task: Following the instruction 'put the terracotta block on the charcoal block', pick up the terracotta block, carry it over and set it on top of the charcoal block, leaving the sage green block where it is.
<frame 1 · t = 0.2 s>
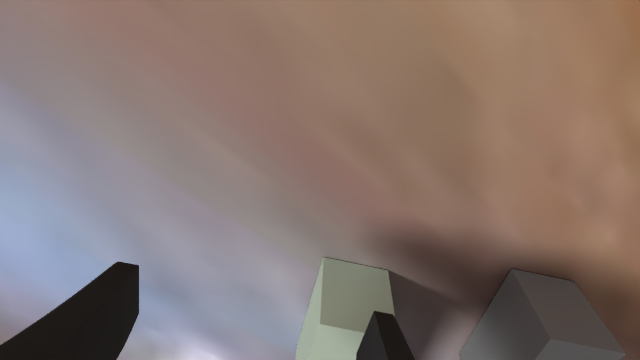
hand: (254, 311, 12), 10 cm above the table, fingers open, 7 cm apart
charcoal block: (512, 320, 26), on the table
sage block: (339, 309, 26), on the table
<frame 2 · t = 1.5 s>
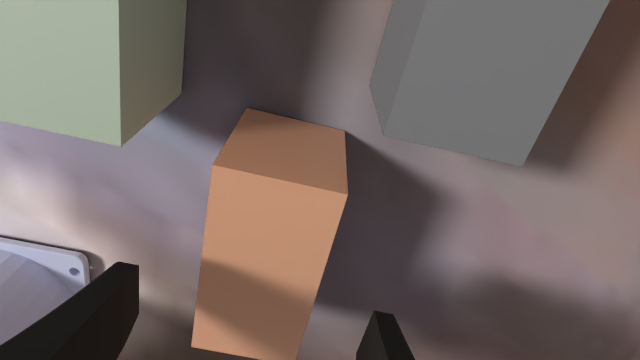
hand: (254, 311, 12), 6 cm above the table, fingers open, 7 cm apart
terracotta block: (278, 201, 18), on the table
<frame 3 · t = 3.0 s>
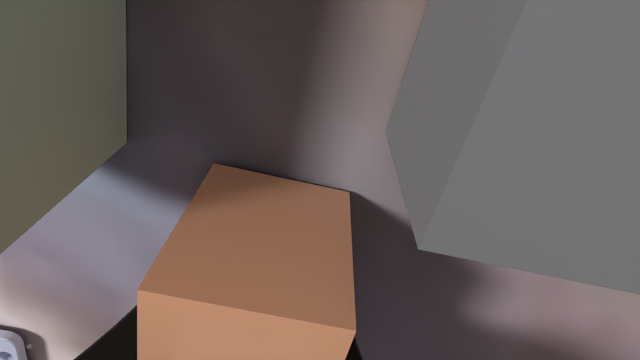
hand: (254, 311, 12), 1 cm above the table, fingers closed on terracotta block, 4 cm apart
terracotta block: (261, 278, 14), on the table, touching gripper
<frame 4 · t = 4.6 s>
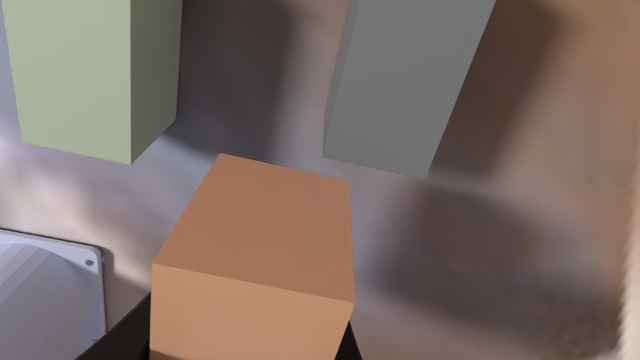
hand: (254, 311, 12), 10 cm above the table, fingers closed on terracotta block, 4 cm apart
charcoal block: (389, 36, 17), on the table
terracotta block: (265, 265, 14), point 7 cm above the table, touching gripper
sage block: (135, 25, 18), on the table
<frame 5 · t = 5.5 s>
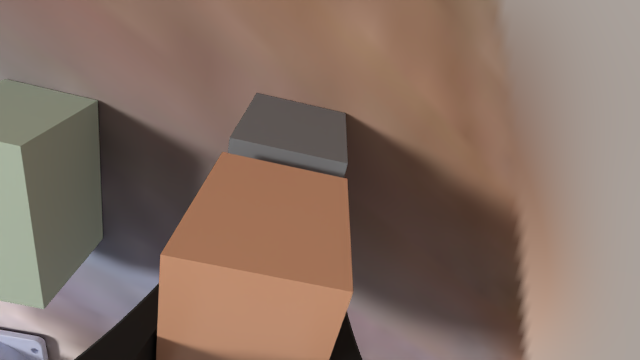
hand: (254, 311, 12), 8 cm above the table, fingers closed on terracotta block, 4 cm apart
charcoal block: (285, 180, 20), on the table
terracotta block: (265, 261, 14), point 6 cm above the table, touching gripper
sage block: (59, 167, 20), on the table
when the fingers open (8 cm above the table, at t = 6.2 s): terracotta block stays where it is, resting on charcoal block.
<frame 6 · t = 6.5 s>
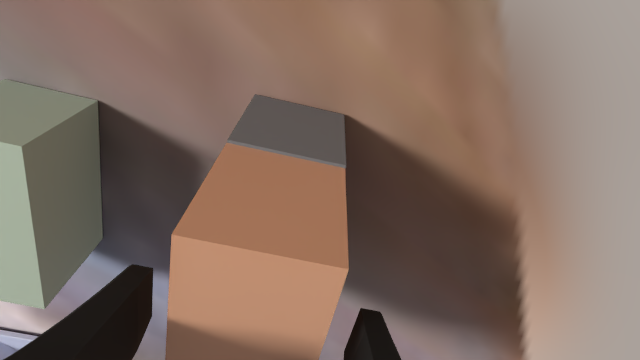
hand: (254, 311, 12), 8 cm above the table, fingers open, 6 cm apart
charcoal block: (284, 181, 20), on the table, touching terracotta block
terracotta block: (268, 248, 15), point 5 cm above the table, touching charcoal block
sage block: (59, 167, 20), on the table
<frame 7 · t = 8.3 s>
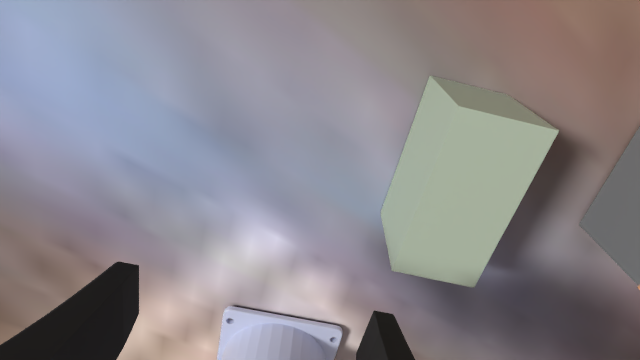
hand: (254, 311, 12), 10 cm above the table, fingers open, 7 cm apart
sage block: (439, 158, 21), on the table
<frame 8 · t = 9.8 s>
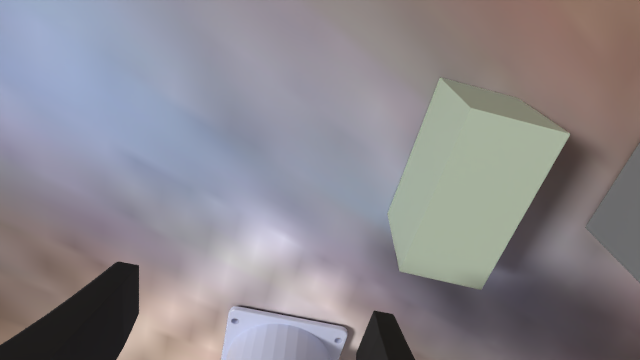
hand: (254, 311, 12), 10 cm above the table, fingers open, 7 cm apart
sage block: (447, 160, 21), on the table
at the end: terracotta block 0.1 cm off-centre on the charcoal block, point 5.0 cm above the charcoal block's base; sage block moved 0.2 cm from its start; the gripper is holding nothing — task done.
